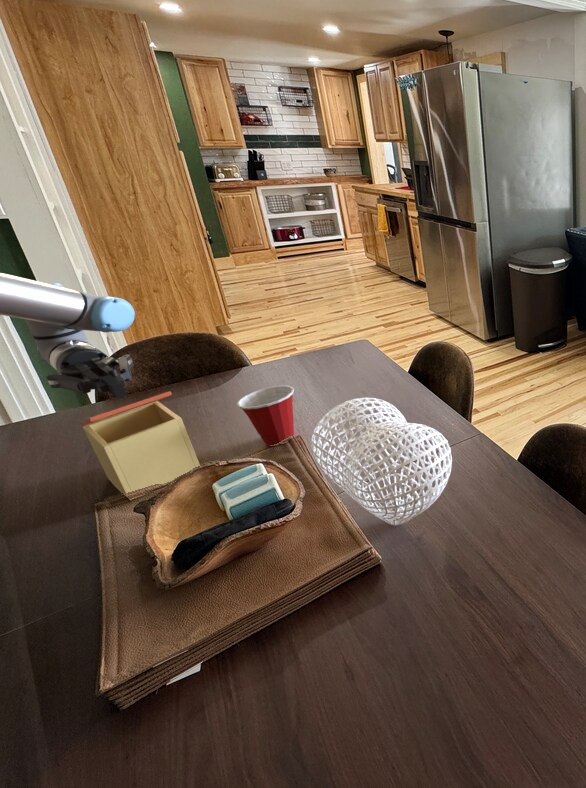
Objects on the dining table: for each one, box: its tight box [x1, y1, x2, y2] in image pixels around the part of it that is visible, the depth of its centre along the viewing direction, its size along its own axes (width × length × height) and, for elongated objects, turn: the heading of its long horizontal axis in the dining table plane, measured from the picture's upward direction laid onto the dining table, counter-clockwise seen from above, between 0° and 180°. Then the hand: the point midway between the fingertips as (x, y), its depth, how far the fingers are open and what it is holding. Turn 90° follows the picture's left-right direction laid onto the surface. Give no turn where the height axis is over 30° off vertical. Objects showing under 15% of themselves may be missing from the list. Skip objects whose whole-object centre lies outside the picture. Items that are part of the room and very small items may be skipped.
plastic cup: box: [236, 384, 295, 447], centre depth 108 cm, size 11×11×12 cm
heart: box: [310, 397, 453, 526], centre depth 83 cm, size 28×16×22 cm, turn 53°
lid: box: [79, 391, 173, 426], centre depth 92 cm, size 14×12×1 cm
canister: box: [81, 400, 201, 494], centre depth 96 cm, size 13×12×13 cm
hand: (119, 390), depth 91 cm, fingers closed
